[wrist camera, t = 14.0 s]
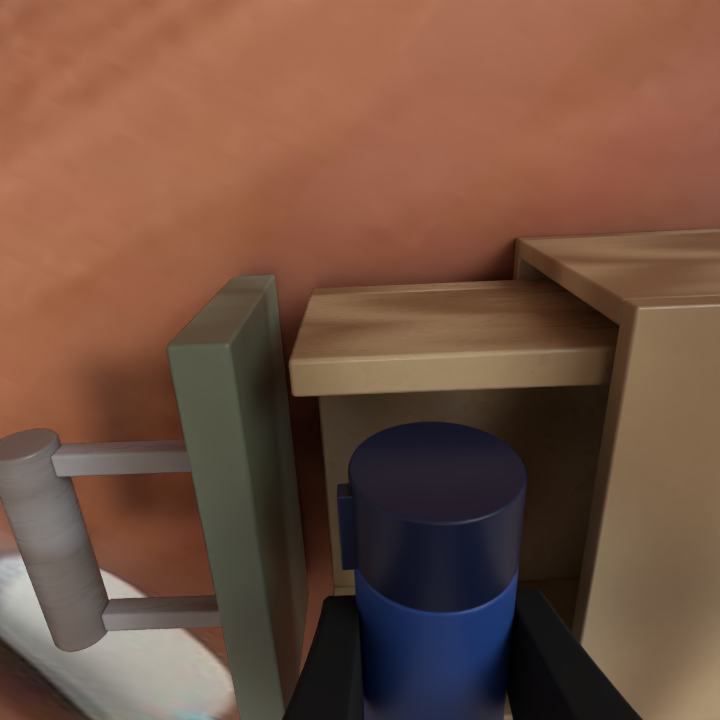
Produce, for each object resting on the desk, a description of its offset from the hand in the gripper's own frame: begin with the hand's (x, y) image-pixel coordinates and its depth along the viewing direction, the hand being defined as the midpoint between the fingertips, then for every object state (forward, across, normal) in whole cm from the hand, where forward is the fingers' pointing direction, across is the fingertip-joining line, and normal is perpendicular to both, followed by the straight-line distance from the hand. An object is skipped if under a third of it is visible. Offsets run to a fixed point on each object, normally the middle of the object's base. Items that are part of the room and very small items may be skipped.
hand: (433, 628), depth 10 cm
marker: (0, 0, 0) cm, 0 cm away
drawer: (+7, +1, 0) cm, 7 cm away
